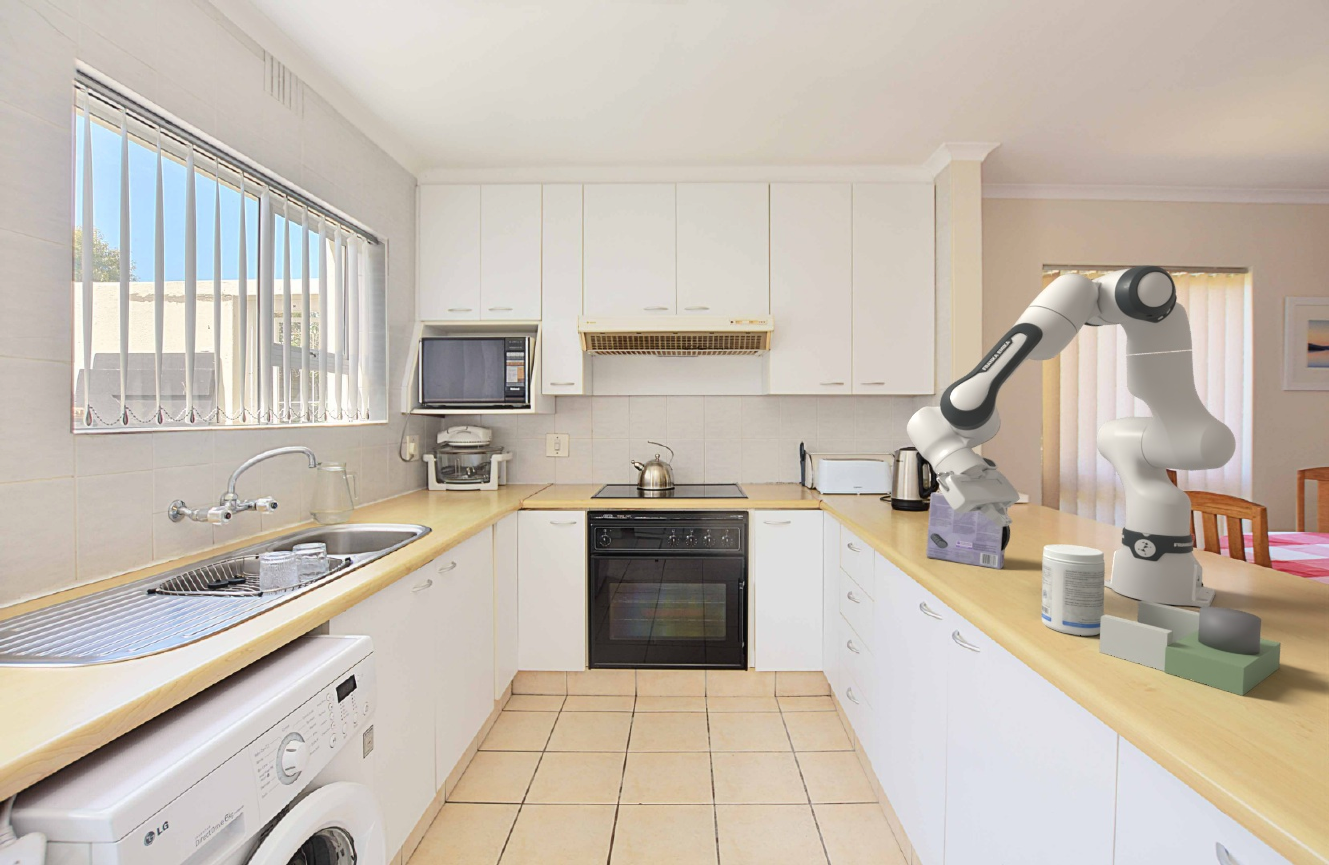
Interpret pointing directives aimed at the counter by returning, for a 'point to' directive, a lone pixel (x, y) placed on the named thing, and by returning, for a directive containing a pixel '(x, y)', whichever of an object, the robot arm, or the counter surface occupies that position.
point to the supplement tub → (1073, 589)
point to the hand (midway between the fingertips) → (1006, 524)
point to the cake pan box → (964, 536)
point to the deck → (1194, 644)
